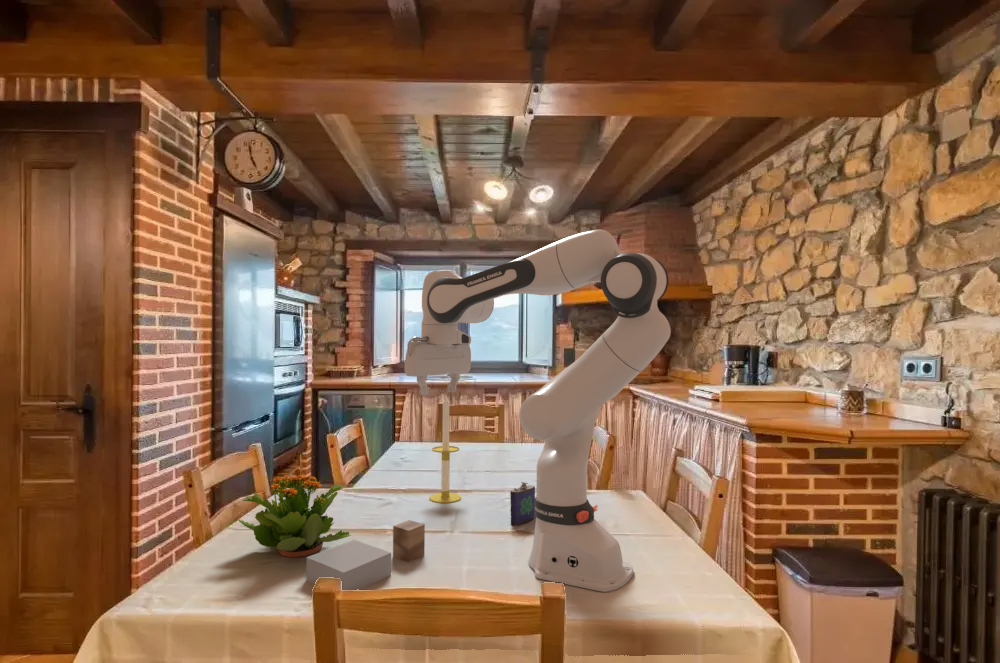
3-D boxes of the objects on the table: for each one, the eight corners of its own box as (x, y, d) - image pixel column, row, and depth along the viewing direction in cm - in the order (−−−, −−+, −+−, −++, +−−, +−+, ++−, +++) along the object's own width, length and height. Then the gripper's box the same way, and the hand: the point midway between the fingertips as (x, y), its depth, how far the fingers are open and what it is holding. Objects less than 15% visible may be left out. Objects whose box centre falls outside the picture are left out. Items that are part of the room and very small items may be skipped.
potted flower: (376, 542, 130) (377, 469, 130) (304, 582, 109) (305, 495, 109) (298, 526, 140) (299, 459, 141) (218, 560, 119) (219, 481, 119)
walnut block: (424, 555, 123) (424, 524, 123) (408, 562, 119) (408, 530, 119) (408, 550, 126) (409, 520, 126) (392, 556, 121) (393, 525, 122)
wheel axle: (467, 499, 166) (468, 393, 166) (440, 505, 159) (441, 395, 160) (449, 491, 173) (450, 391, 174) (422, 497, 167) (423, 393, 167)
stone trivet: (390, 576, 112) (391, 552, 112) (343, 598, 102) (343, 572, 102) (353, 562, 119) (354, 539, 119) (306, 581, 109) (306, 557, 110)
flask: (529, 516, 150) (530, 477, 150) (538, 518, 148) (538, 479, 148) (508, 524, 143) (508, 484, 143) (516, 527, 141) (516, 486, 141)
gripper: (418, 336, 121) (417, 397, 121) (475, 337, 137) (474, 391, 137) (398, 336, 125) (398, 395, 125) (457, 337, 141) (456, 389, 141)
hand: (438, 393), depth 131 cm, fingers open, 8 cm apart
